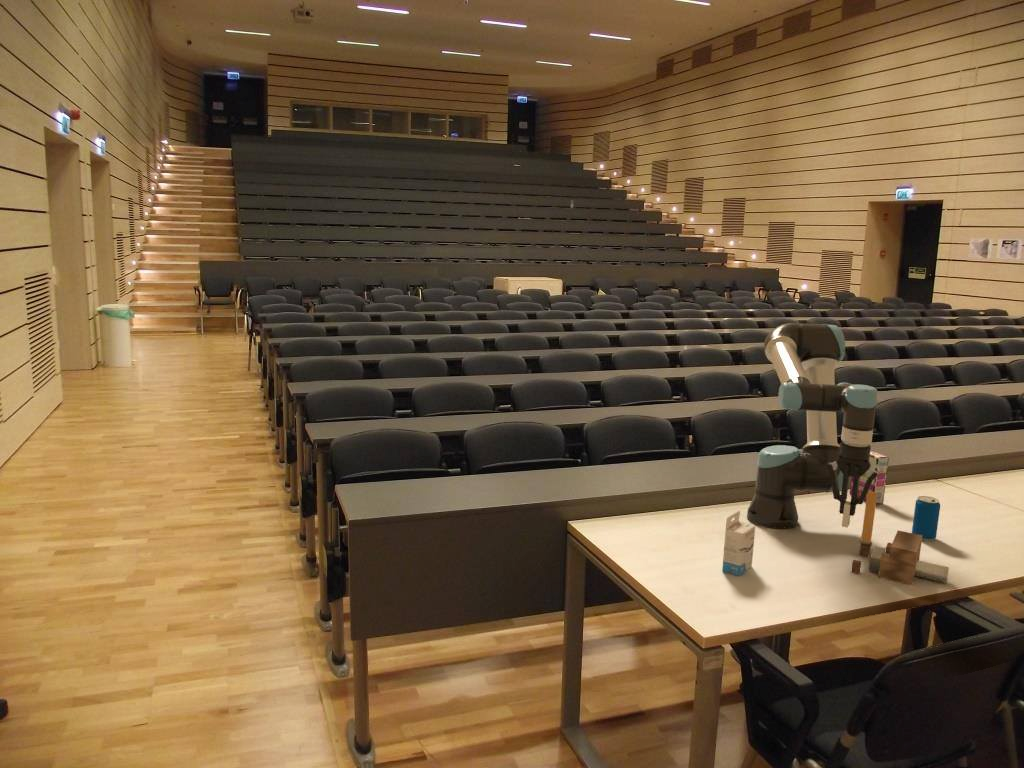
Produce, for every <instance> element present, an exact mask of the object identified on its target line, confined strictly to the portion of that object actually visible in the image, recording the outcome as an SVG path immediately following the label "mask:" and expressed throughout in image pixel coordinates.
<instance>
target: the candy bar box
mask: <svg viewBox="0 0 1024 768" xmlns="http://www.w3.org/2000/svg"><path fill="white" fill-rule="evenodd" d="M889 460H890V457H889V456H888V455H887V456H886V455H884V454H881V453H879V452H875V451H872V450H870V458H869V462H870V464H871V468H872V469H874V470H875V471H878V472H879V474H878V475H877V477H876V478H875V479H874V480H873V481H872V483H871V486H870V488H869V490H868V491H871V492H877V499H876V505H882V504H883V505H884V499H885V493H886V486H887V485H886V483H887V476H888V469H889V468H888V467H889ZM850 477H851V479H850V485H849V486H850V487H849V495H850V496H851V495H852V487H853V477H852V476H850ZM868 478H869V476H868V471H866V472H865V473H864V474H863V475H862V476H861V477H860V480H859V488H858V496H857V498H860V496H861V493H862V491H863V489H864V486H865V484H866V482H867V479H868ZM866 499H867V495H866V497H865V500H864V502H865V503H866Z"/></svg>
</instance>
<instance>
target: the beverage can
mask: <svg viewBox="0 0 1024 768" xmlns="http://www.w3.org/2000/svg"><path fill="white" fill-rule="evenodd" d="M914 504H915V505H914V512H913V520H912V528H911V533H913V534H918V535H922V541H924V542H925V541H927V542H928V541H929V542H931V541H933V540H935V539H936V538H937V535H938V534H937V533H938V528H939V527H938V525H939V517H940V511H941V503H940V499H938V498H936V497H932V496H926V495H921V496H918V497H917V499H916V500H915V503H914Z"/></svg>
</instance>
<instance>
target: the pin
mask: <svg viewBox="0 0 1024 768" xmlns="http://www.w3.org/2000/svg"><path fill="white" fill-rule="evenodd" d="M885 551H886V547H880V546H877V545H876V546H874V548H873V551H872V553H871V554H870V556H869V565H868V571H870V572H875V573H878V574H879V568H880V560H881V557H882V555H883V554H884V555H888V556H890V554H886V553H885ZM949 569H950V567H949V566H945V565H940V564H937V563H932V562H927V561H922V560H919V561H918V560H917V562H916V569H915V576H916V577H919V578H920V577H921V578H925V579H929V580H933V581H938V582H942V583H947V581H948V576H949Z"/></svg>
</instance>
